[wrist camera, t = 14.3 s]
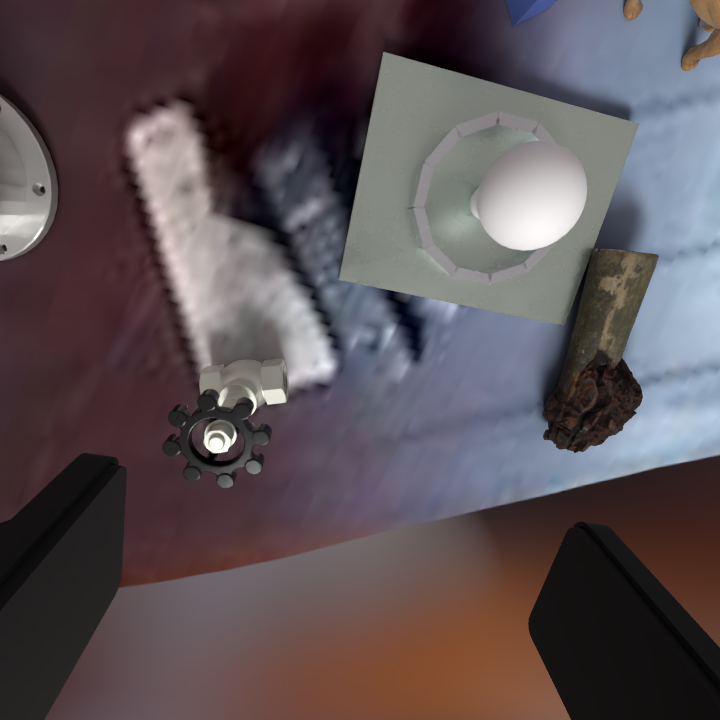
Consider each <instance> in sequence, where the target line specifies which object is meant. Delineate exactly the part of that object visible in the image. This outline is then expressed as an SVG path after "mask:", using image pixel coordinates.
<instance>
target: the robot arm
mask: <svg viewBox="0 0 720 720" xmlns="http://www.w3.org/2000/svg"><path fill="white" fill-rule="evenodd" d="M44 188H45V192H44ZM57 205H58V184H57V177H56V171H55V168H54V165H53V162H52V159H51V156H50V153H49V151H48V149H47V147H46V145H45V143H44V141H43V139H42V137H41V136H40V134H39V133H38V131H37V130H36V129H35V127H34V126H33V125H32V123H31V122H30V120H29V119H28V118H27V117H26V116H25V115H24V114H23V113H22V112H21V111H20V110H19V109H18V108H17V107H16V106H15V105H14V104H13V103H12V102H10V101H9V100H8V99H6V98H5V97H4V96H2V95H1V94H0V261H2V260H8V259H12V258H15V257H17V256H20V255H22V254H24V253H26V252H28V251H29V250H30V249H32V248H33V247H35V246H36V245H37V244H38V243H39V242H40V241H41V240H42V239H43V237H44V236H45V235H46V234H47V232H48V230H49V228H50V226H51V225H52V223H53V221H54V217H55V213H56V209H57ZM126 478H127V470H126V467H124V466H118V460H117V458H115V457H110V456H103V455H96V454H89V453H83V454H81V455H79V456H78V457H77V458H76V459H75V460H74V461H73V462H72V463H70V464H69V465H68V466H67V467H66V468H65V469H64V470H63V471H62V472H61V473H60V474H59V475H58V476H57V477H56V478H55V479H53V480H52V481H51V482H50V483H49V484H48V485H47V486H46V487H45V488H44V489H43V490H42V491H41V492H40V493H39V494H38V495H36V496H35V497H34V498H33V499H32V500H31V501H30V502H29V503H28V504H27V505H26V506H25V507H24V508H23V509H22V510H20V511H19V512H18V513H17V514H16V515H15V516H14V517H13V518H12V519H11V520H8V521H5V522H2V523H0V720H44V719H45V718H46V716H47V714H48V712H49V711H50V709H51V707H52V705H53V704H54V702H55V700H56V698H57V696H58V695H59V693H60V691H61V689H62V688H63V686H64V684H65V682H66V681H67V679H68V677H69V676H70V674H71V672H72V670H73V668H74V666H75V665H76V663H77V662H78V660H79V658H80V656H81V654H82V653H83V651H84V649H85V647H86V645H87V644H88V642H89V640H90V639H91V637H92V635H93V633H94V631H95V630H96V628H97V626H98V625H99V623H100V621H101V619H102V618H103V616H104V614H105V612H106V611H107V609H108V607H109V605H110V603H111V602H112V600H113V598H114V596H115V594H116V592H117V590H118V587H119V584H120V581H121V575H122V557H123V538H124V518H125V498H126ZM528 624H529V632H530V635H531V638H532V640H533V642H534V644H535V646H536V648H537V650H538V652H539V654H540V656H541V659H542V661H543V663H544V665H545V667H546V669H547V671H548V673H549V675H550V677H551V679H552V681H553V683H554V685H555V687H556V689H557V692H558V693H559V695H560V698H561V700H562V702H563V704H564V706H565V708H566V710H567V712H568V714H569V716H570V718H571V720H720V647H718V645H717V644H716V643H715V642H714V641H713V640H712V639H711V638H710V637H709V635H708V634H707V633H706V632H705V631H704V630H703V629H702V628H701V627H700V626H699V624H698V623H697V622H696V621H695V620H694V619H693V618H692V617H691V616H690V615H689V614H688V612H687V611H686V610H685V609H684V608H683V607H682V606H681V605H680V604H679V603H678V602H677V600H676V599H675V598H674V597H673V596H672V595H671V594H670V593H669V592H668V591H667V590H666V588H665V587H664V586H663V585H662V584H661V583H660V582H659V581H658V580H657V578H656V577H655V576H654V575H653V574H652V573H651V572H650V571H649V570H648V569H647V568H646V566H644V564H643V563H642V562H641V561H640V560H639V559H638V558H637V557H636V556H635V555H634V554H633V552H632V551H631V550H630V549H629V548H628V547H627V546H626V545H625V544H624V542H623V541H622V540H621V539H620V538H619V537H618V536H617V535H616V534H615V533H614V531H613V530H612V529H610V528H609V527H608V526H606V525H602V524H594V523H587V522H578V523H576V524H575V525H574V526H573V528H570V529H568V531H567V532H566V534H565V537H564V539H563V541H562V543H561V546H560V548H559V551H558V553H557V555H556V557H555V560H554V562H553V564H552V566H551V569H550V571H549V573H548V576H547V578H546V580H545V582H544V585H543V587H542V589H541V592H540V594H539V596H538V598H537V601H536V603H535V605H534V608H533V610H532V612H531V615H530V617H529V623H528Z"/></svg>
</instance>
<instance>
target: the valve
mask: <svg viewBox="0 0 720 720" xmlns="http://www.w3.org/2000/svg"><path fill="white" fill-rule="evenodd" d="M200 394H201V396H200V397H199V398H198V402H197V403H198V406H199V408H198V409H197V410H196V411H195V412H194V413H193V414H191V413H189V412H188V411H187V410H186V408H187V407H188V406H186V405H183V404H180V405H177V406H175V407H174V409H173V410H172V411H171V412H170V413H169V415H168V421H169V423H170V424H171V425H172V426H175V427H179V428H180V429H181V434H180V437H176V434H172V435H170V436H169V437H168V438H167V440H166V441H165V443H164V444H163V446H162V449H163V452H164V453H165V454H166V455H168V456H172V457H173V456H177V455H179V454H183V455H184V456H185V457H186V458H187V459H188V460H189V462H188V463H187V465H186V467H185V468H184V470H183V476H184V478H185V479H186V480H188V481H197V480H198V479H199V478H200V477H201V475H202V473H203V472H211V473H214V474H216V476H217V479H216V482H217V484H218V486H220V487H221V488H230V487H231V486H232V485H233V484H234V481H235V479H236V476H237V472H233V471H234V470H236V469H238V468H240V467H243V468H245V470H246V471H247V472H248V473H250V474H257V473H259V472H260V471H261V470H262V467H263V463H264V456H263V455H262V454H261V453H259V455H258V456H257V455H255V454H254V453H253V447H254V446H255V445H258V446H264V445H266V444H268V442H269V441H270V437H271V434H272V430H271V428H270V426H269V425H267V424H261V425H260V427H258V428H255V426H254V424H252V423H250V422H248V420H247V418H249V417H250V416H251V415H252V414H253V413H254V411H255V410H256V407H258V406H260V405H262V404H263V403H265V402H267V404H277V403H285V402H286V401H287V400H288V397H289V383H288V374H287V369H286V365H285V362H284V360H283V359H282V358H278V359H269V360H264V362H263V364H262V363H261V362H258V361H255V360H250V359H243V360H238V361H235V362H233V363H231V364H229V365H228V366H227V367H226V365H225V364H224V365H215V366H207V367H206V368H204V369H203V370H202V372H201V375H200ZM205 419H207V420H208V421H209V422H210V423H209V424H208V426H207V428H206V430H205V439H204V441H203V444H204V445H205V446H206V448H207V449H208V450H209V451H210V452H209V454H208V456H207V458H206V457H204V456H202V455H201V454H200V453H199V452H198V451H197V450H196V448H195V447H194V444H193V442H192V430H193V428H194V426H195V425H196V424H198V423H199V422H201V421H203V420H205ZM239 432H241V433H242V435H243V438H244V443H245V444H244V449H243V451H242V452H241V453H240V454H239V455H238V456H237V457H235V458H233V459H231V460H228V461H215V460H216V457H217V455H218V453H222V452H227V451H228V448H229V447H230V446H231V445H233V444H234V442H235V440H236V438H237V435H238V433H239Z"/></svg>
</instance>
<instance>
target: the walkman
mask: <svg viewBox="0 0 720 720" xmlns="http://www.w3.org/2000/svg"><path fill="white" fill-rule="evenodd" d="M556 1H557V0H506V3H507V7H508V10H509V14H510V18H511V21H512V25H513V26H515V25H517V24H519V23H521V22H523V21H525V20H527V19H529V18H531V17H533V16H535V15H537V14H539V13H541V12H543V11H545V10H547V9H549V8H550V7H551V6H552V5H553V4H554V3H555V2H556Z"/></svg>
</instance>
